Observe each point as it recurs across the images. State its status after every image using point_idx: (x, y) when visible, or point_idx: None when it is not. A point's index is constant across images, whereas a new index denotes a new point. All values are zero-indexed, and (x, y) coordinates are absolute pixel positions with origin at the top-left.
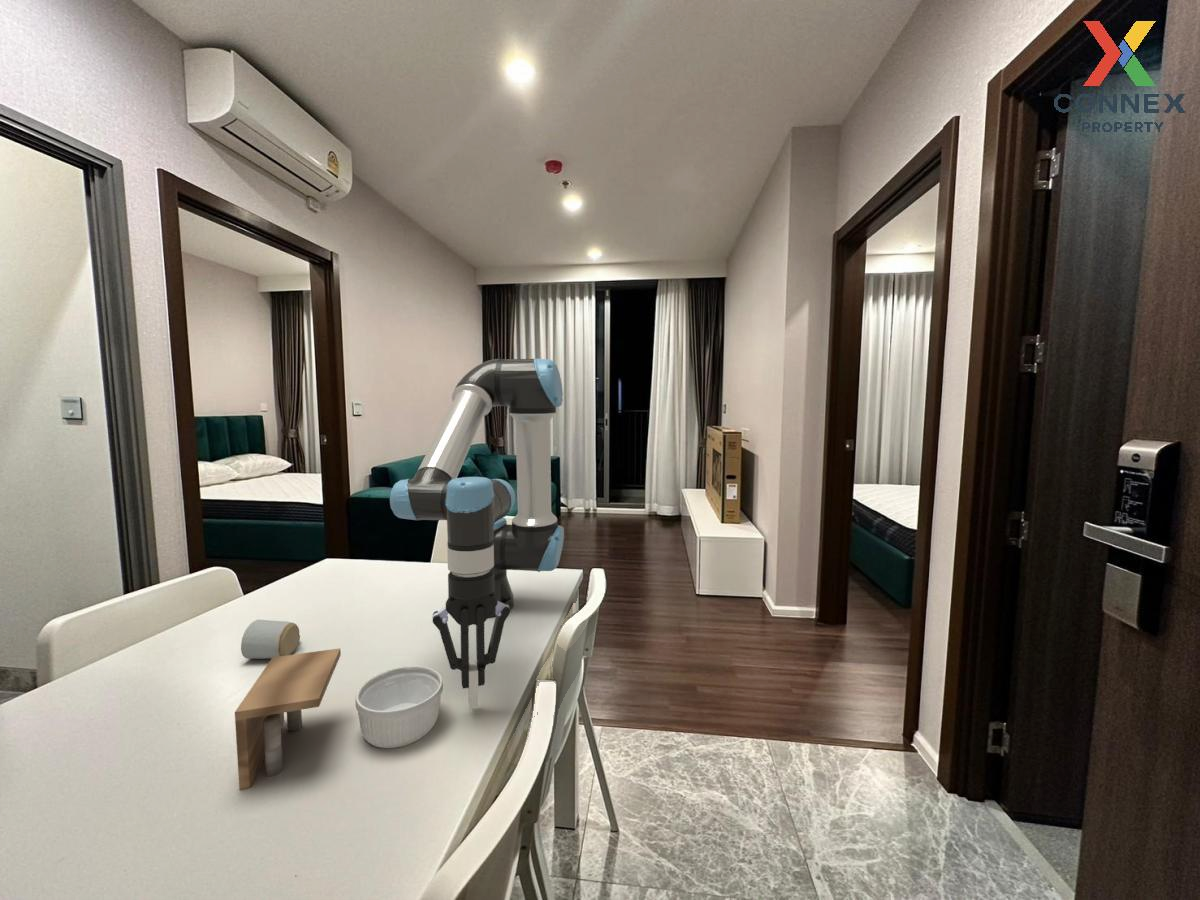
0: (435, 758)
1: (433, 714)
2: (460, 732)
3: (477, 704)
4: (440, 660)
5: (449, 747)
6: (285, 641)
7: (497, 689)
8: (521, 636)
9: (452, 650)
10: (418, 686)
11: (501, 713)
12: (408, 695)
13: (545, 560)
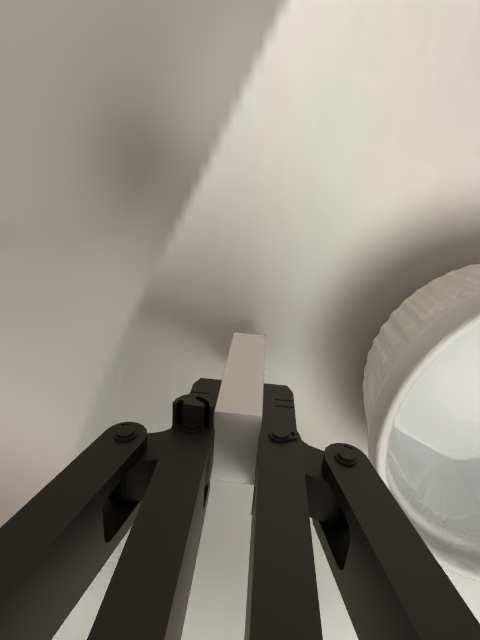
0: (408, 160)
1: (407, 318)
2: (305, 264)
3: (236, 337)
4: None
5: (353, 200)
6: None
7: (161, 427)
8: (65, 628)
9: (381, 550)
10: (429, 489)
11: (163, 307)
12: (450, 475)
13: None
